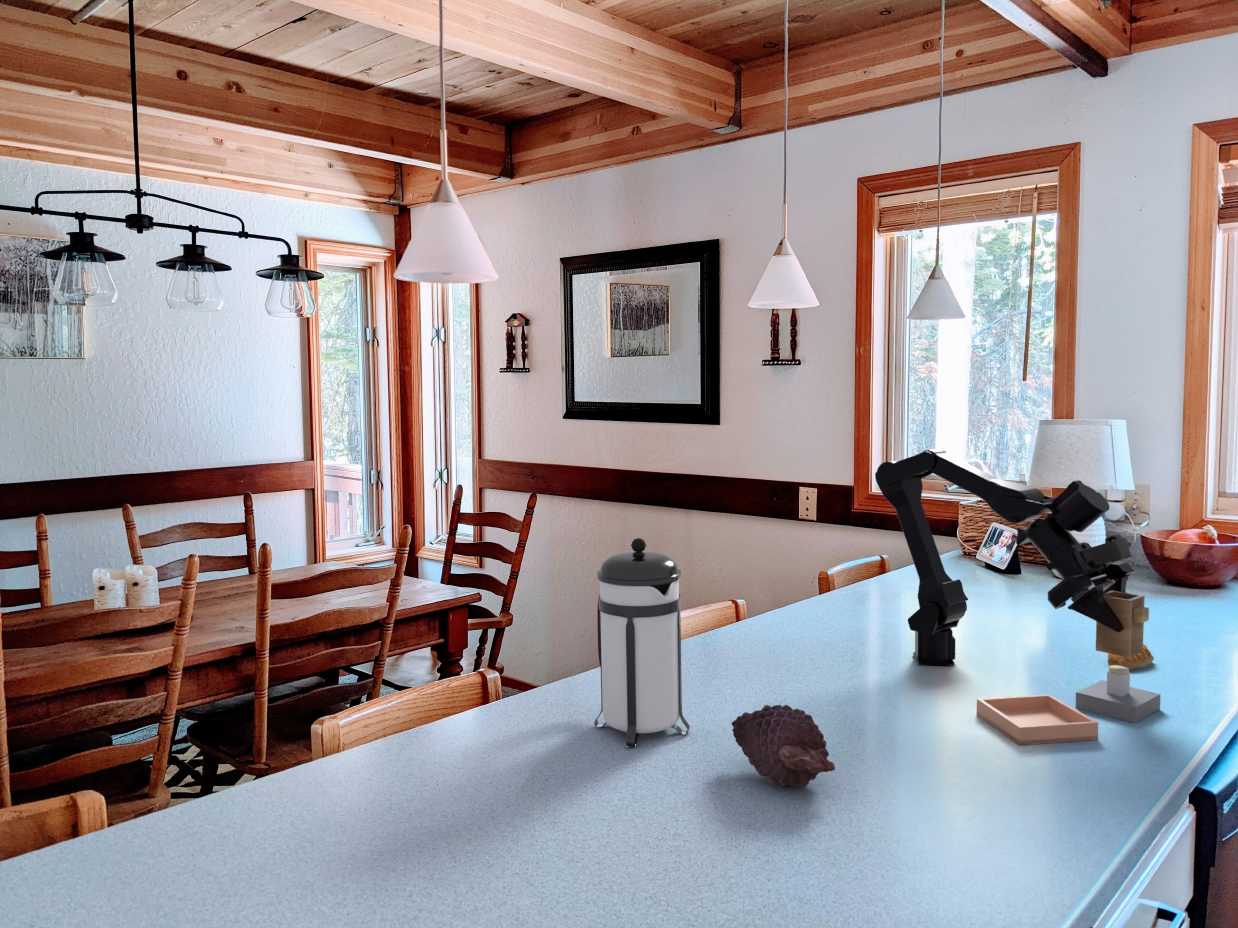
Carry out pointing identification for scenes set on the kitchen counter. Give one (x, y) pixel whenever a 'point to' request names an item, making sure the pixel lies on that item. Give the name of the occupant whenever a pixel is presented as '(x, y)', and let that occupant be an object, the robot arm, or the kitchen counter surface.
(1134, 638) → the walnut sleeve
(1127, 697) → the block
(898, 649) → the kitchen counter surface
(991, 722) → the terracotta tray
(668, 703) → the coffee press
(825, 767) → the pine cone
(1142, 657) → the pastry
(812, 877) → the kitchen counter surface
